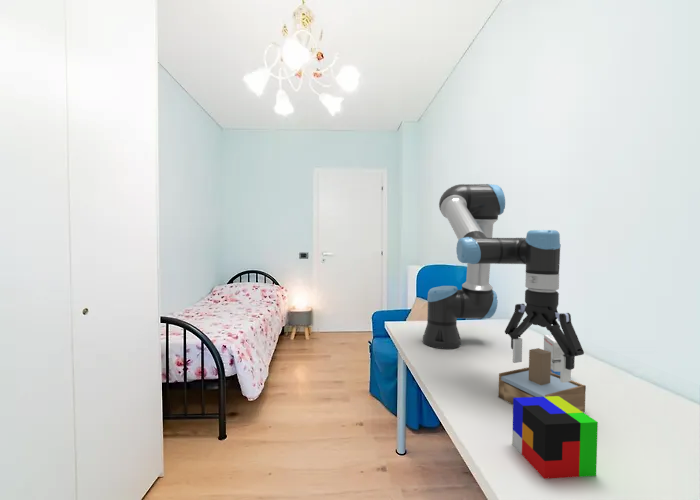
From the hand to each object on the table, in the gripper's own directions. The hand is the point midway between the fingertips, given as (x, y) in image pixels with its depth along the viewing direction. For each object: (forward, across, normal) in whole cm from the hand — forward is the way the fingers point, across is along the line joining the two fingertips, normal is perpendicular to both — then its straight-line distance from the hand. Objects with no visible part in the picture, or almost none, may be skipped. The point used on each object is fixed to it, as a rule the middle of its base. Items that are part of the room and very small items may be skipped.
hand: (539, 371), depth 86 cm
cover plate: (+4, 0, 0) cm, 4 cm away
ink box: (+9, -11, +22) cm, 27 cm away
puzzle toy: (+9, +16, -18) cm, 25 cm away
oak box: (+9, 0, 0) cm, 9 cm away
